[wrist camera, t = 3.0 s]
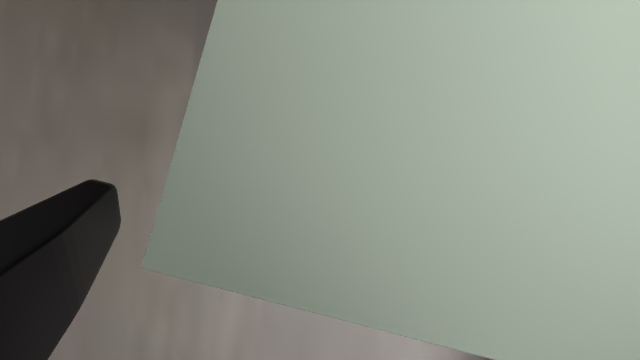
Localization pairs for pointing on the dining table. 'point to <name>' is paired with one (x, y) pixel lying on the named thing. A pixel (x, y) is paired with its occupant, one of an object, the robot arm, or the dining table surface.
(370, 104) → the pillar
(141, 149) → the dining table surface
